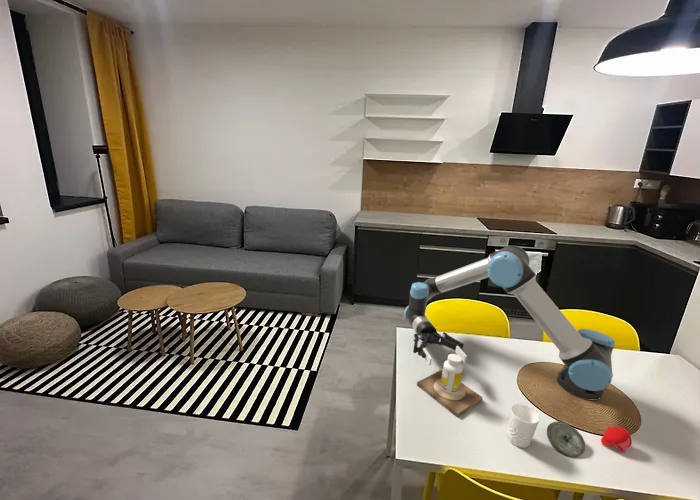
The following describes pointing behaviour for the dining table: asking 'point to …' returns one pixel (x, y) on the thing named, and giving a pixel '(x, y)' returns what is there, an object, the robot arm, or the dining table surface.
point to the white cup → (521, 425)
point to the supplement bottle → (452, 374)
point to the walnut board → (450, 401)
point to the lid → (566, 439)
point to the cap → (617, 438)
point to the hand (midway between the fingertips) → (448, 360)
